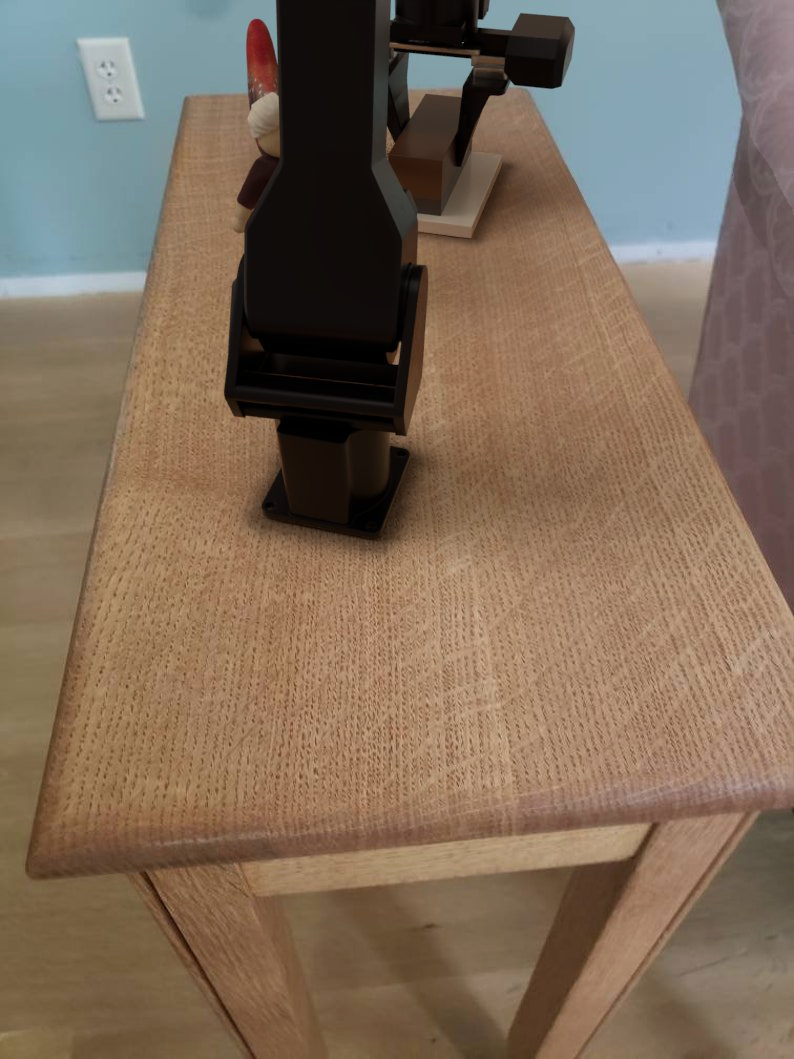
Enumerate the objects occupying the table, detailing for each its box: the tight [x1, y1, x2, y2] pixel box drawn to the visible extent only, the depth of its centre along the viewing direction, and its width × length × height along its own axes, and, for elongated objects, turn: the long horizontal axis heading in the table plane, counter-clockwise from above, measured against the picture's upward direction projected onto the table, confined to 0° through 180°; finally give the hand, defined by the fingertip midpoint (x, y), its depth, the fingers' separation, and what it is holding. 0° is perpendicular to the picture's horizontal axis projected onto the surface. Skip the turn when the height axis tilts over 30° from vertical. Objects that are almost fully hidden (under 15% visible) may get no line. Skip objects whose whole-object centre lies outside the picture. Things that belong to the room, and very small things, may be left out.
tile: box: [417, 150, 504, 239], centre depth 67 cm, size 12×9×1 cm
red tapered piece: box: [245, 18, 279, 156], centre depth 65 cm, size 3×18×10 cm, turn 10°
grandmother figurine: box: [231, 92, 280, 234], centre depth 55 cm, size 8×4×13 cm, turn 143°
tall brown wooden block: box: [387, 93, 473, 216], centre depth 66 cm, size 11×4×4 cm, turn 165°
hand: (433, 161), depth 66 cm, fingers closed on tall brown wooden block, 4 cm apart
